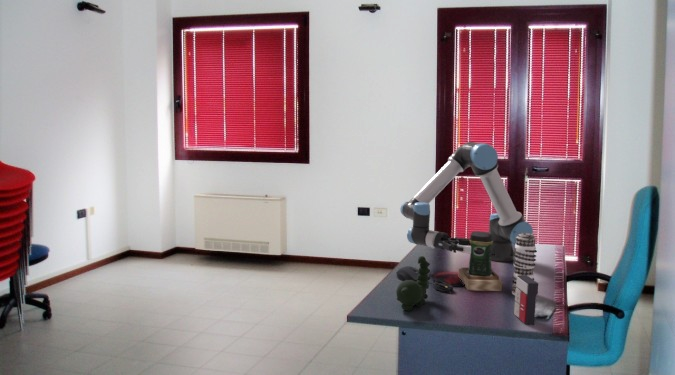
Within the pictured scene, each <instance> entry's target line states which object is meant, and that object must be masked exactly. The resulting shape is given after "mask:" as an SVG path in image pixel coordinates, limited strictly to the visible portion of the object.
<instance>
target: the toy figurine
mask: <svg viewBox="0 0 675 375" xmlns="http://www.w3.org/2000/svg"><path fill="white" fill-rule="evenodd" d="M417 264H419V268H418V271H419V274H418V276H417V279H418V280H417V282H415V281H413V280H405V281H401V282H400V283H399V284H398V286H397V287H396V300H397V302H400V303H401V309H402V310H404V311H407V312H410V311H412V310H413V309H414V306H415V305H416V306H417V307H421V306H422V305H425V304H426V300H427V299H428V297H429V295H428V294H427V290H428V289H429V288H430V286H429V283H427V282H429V281H430V280H431V277H430V276H429V275H428V274H429V273H431V269H429V266H430V265H431V264H430V262H428V261H427V259H426V257H425V256H423V255H420V256H418V259H417Z"/></svg>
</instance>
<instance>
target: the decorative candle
mask: <svg viewBox="0 0 675 375" xmlns="http://www.w3.org/2000/svg"><path fill="white" fill-rule="evenodd" d="M536 239H537V237H535V235H534V233H533V234H530V233H519V234H518V236H516V244H514V247H513V249H514V250H513V251H514V253H513V254H514V256H515V257H514V258H513V259H514V261H512V264H513V267H514V270H513V276H512V284H511V294H512V295H513V296H515V291H516V288H517V287H516V283H517V276H518V275H527V276H529V277H530V278H531V279H533V280H534V281H535V277H534V270H535V269H534V268H535V266H536V264H535V263H534V262H536V261H537V259H536V257H537V255H536V253H537V252H538V250H537V247H536Z"/></svg>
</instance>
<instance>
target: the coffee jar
mask: <svg viewBox="0 0 675 375" xmlns="http://www.w3.org/2000/svg"><path fill="white" fill-rule="evenodd" d="M469 239H470V245H471V246H470V247H471V254H470V255H469V263H468V268H469V269H468V272H469V274H471V275H476V276H489V275H491V273H492V270H493V269H492V260H491V246H492V243H493V236H492V233H489V231H480V230H479V231H478V230H477V231H475V230H474V231H472V232H471V233H470V237H469Z"/></svg>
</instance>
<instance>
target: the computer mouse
mask: <svg viewBox="0 0 675 375" xmlns="http://www.w3.org/2000/svg"><path fill="white" fill-rule="evenodd" d="M418 270H419V268H417V267H415V266H414V267H413V266H410V265H406V266H402V267H400V268H399V269H398V270H397V271H396V278H397V279H398V280H399V281H401V282H403V281H405V280H413V281H415V282H417V280H418V279H417V276H418V274H419V271H418ZM427 283H428V284H430V285H431V284H432V285H433V286H434V288H435V289H436V291H439V292H440V293H443V294H444V293H445V294H448V293H449V294H450V293H452V292H454V290H453V289H454V286H453V285H450V284H449V283H447V282H443V281H441V280H437V281H436V280H435V281H434V283H432V282H429V281H427Z"/></svg>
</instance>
